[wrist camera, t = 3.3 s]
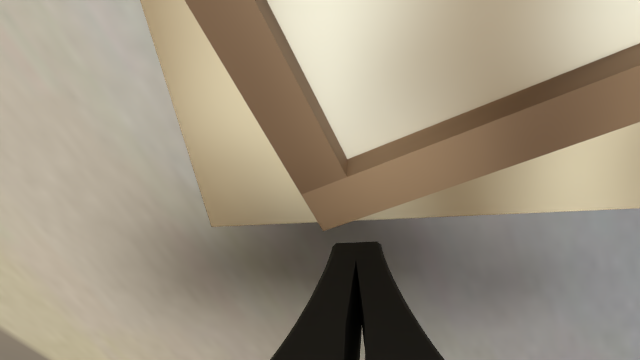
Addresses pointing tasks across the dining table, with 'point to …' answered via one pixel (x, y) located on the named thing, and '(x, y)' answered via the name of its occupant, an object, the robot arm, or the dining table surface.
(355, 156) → the picture frame
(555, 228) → the dining table surface
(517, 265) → the dining table surface
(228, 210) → the display board
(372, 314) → the robot arm
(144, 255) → the dining table surface
